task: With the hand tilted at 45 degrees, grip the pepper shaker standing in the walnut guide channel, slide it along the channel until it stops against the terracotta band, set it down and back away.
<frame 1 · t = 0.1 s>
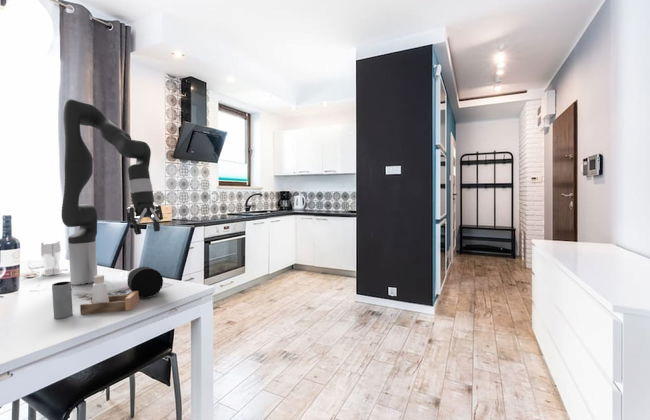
hand: (148, 232, 124), 22 cm above the table, tool pointing down, fingers open, 8 cm apart
beer glass: (52, 274, 150), on the table
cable: (140, 289, 127), on the table
planter: (63, 316, 99), on the table
guide channel: (111, 307, 105), on the table
pepper shaker: (100, 309, 105), on the table
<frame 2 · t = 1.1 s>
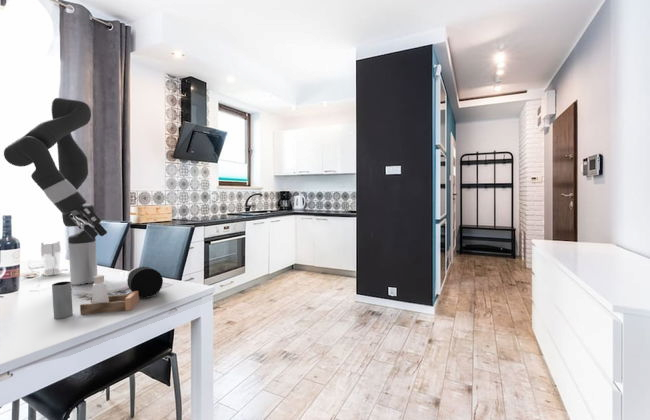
hand: (99, 235, 110), 23 cm above the table, tool tilted 30°, fingers open, 8 cm apart
nothing on the table moved.
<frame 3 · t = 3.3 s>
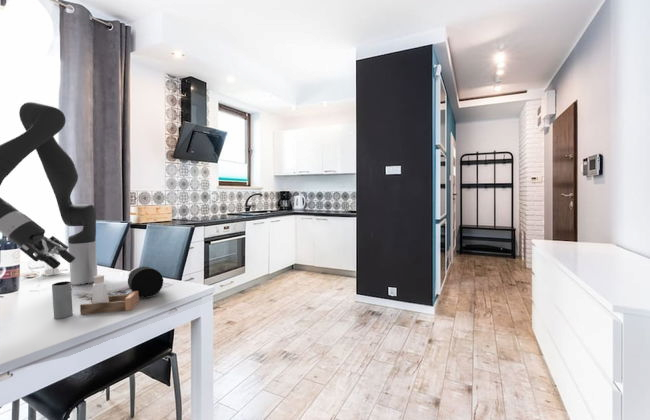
hand: (65, 263, 102), 16 cm above the table, tool tilted 45°, fingers open, 8 cm apart
nothing on the table moved.
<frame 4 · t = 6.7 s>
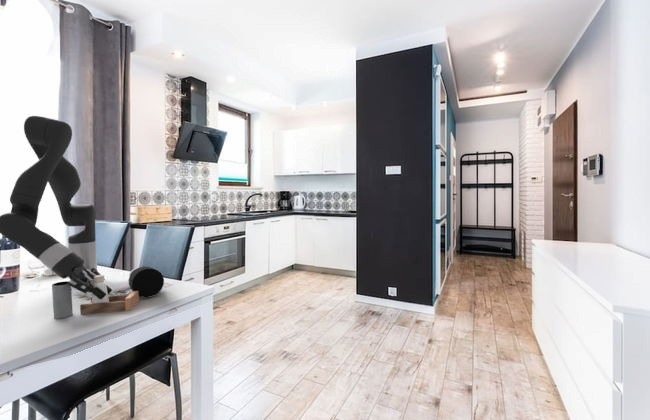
hand: (106, 294, 105), 5 cm above the table, tool tilted 45°, fingers closed on pepper shaker, 4 cm apart
pepper shaker: (100, 309, 105), on the table, touching gripper
everything else where it was.
when the fingers open (5 cm above the table, at t = 9.7 s): pepper shaker stays where it is, on the table.
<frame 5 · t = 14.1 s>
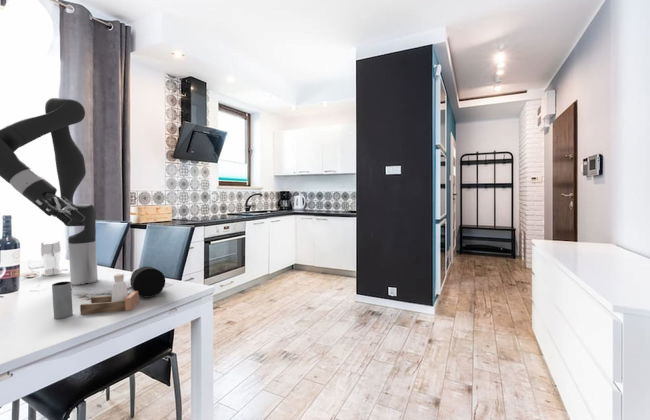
hand: (76, 221, 106), 29 cm above the table, tool tilted 45°, fingers open, 8 cm apart
pepper shaker: (120, 307, 106), on the table
at the end: pepper shaker 0.3 cm from the target spot on the guide channel, point 0.0 cm above the guide channel's base; pepper shaker tilted 0°; the gripper is holding nothing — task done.
